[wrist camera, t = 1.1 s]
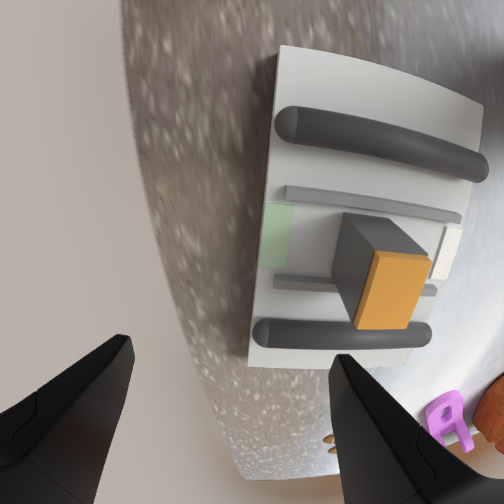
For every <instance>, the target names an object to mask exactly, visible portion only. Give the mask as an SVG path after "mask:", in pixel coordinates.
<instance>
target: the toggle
mask: <svg viewBox="0 0 504 504" xmlns="http://www.w3.org/2000/svg"><path fill="white" fill-rule="evenodd" d="M431 264H432V261H431V260H430V259H429V258H428V253H427V252H426V251H425V250H424V249H423V248H422V247H421V246H420V245H419V244H417V243H416V242H415V241H414V240H413V239H412V238H411V237H410V236H409V235H408V234H406V233H405V232H404V231H403V230H402V229H401V228H400V227H399V226H397V225H396V224H395V223H394V222H393V221H392V220H390V219H389V218H385V217H378V216H371V215H363V214H356V213H348V212H343V217H342V222H341V227H340V232H339V237H338V242H337V247H336V251H335V256H334V260H333V265H332V269H331V275H332V278H333V280H334V282H335V285H336V287H337V289H338V292H339V294H340V297H341V299H342V301H343V304H344V306H345V309H346V311H347V314H348V316H349V319H350V321H351V323H355V326H356V328H357V329H362V330H378V329H406V328H407V326H408V323H409V321H410V319H411V316H412V314H413V312H414V309H415V307H416V304H417V302H418V299H419V297H420V294H421V292H422V289H423V287H424V284H425V281H426V278H427V276H428V273H429V270H430V267H431Z"/></svg>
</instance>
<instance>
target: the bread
mask: <svg viewBox="0 0 504 504" xmlns="http://www.w3.org/2000/svg"><path fill="white" fill-rule="evenodd" d="M473 424H474V425H475V427H476V429H477V430H478V431H480V432H481V433H482V434H483V435H484V437H485V438H486V440H487V442H494V443H495V448H496V449H497V450H498V451H499V452H500V453H502V454H504V375H503V376H502V377H500V378H499V379H498V380H496V381H495V382H494V383H493V384H492V385H491V386H490V388H489V389H488V390H487V391H486V393H485V394H484V396H483V398H482V399H481V401H480V403H479V404H478V407H477V411H476V414H475V416H474V419H473Z"/></svg>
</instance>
